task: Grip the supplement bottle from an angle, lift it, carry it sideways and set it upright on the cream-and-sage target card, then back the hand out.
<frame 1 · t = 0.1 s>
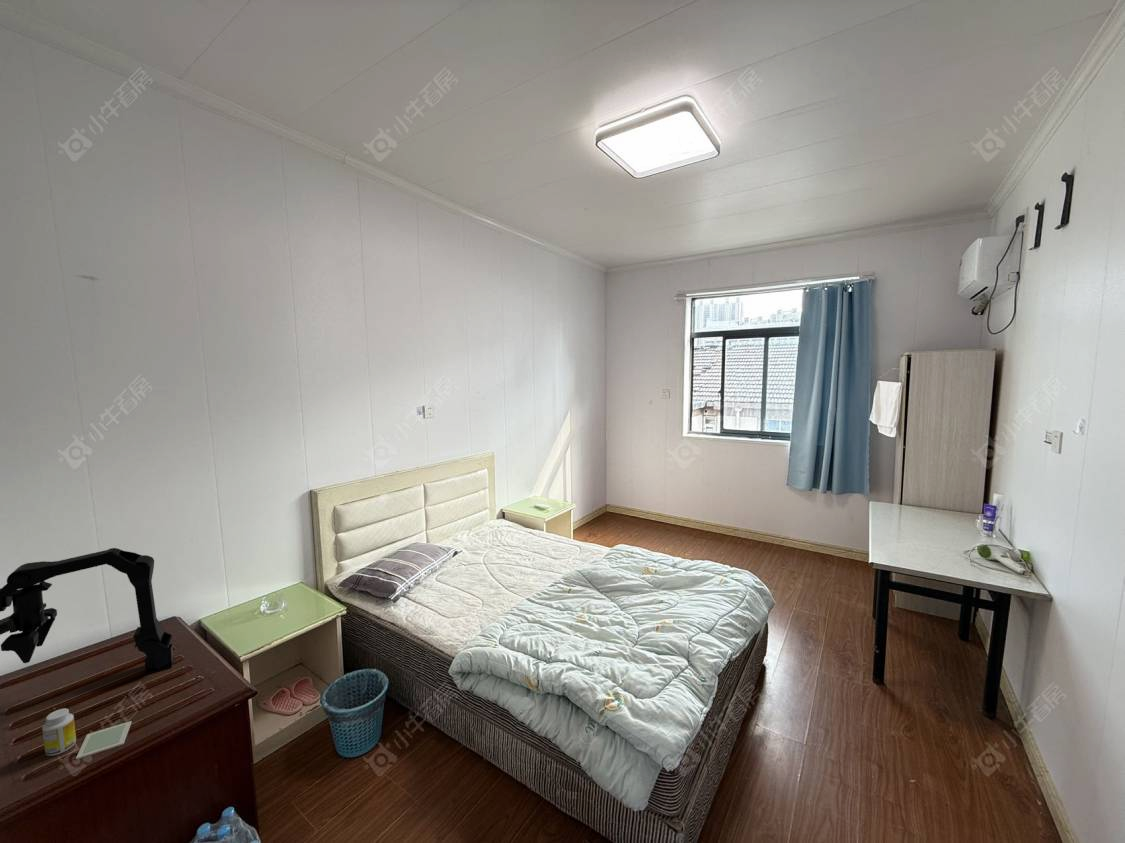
hand: (33, 654, 133), 15 cm above the cabinet, tool pointing down, fingers open, 9 cm apart
supplement bottle: (61, 748, 118), on the cabinet
target card: (105, 739, 121), on the cabinet
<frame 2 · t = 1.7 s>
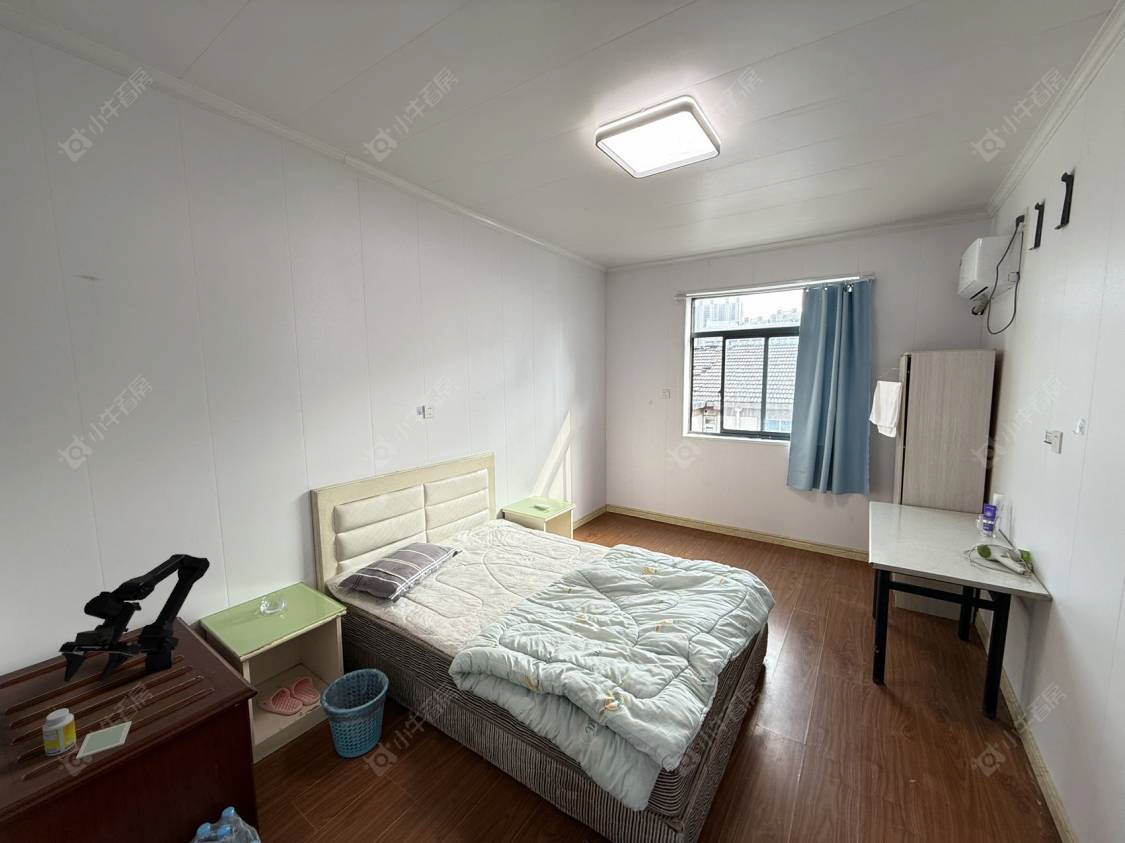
hand: (82, 681, 124), 13 cm above the cabinet, tool tilted 45°, fingers open, 9 cm apart
nothing on the cabinet moved.
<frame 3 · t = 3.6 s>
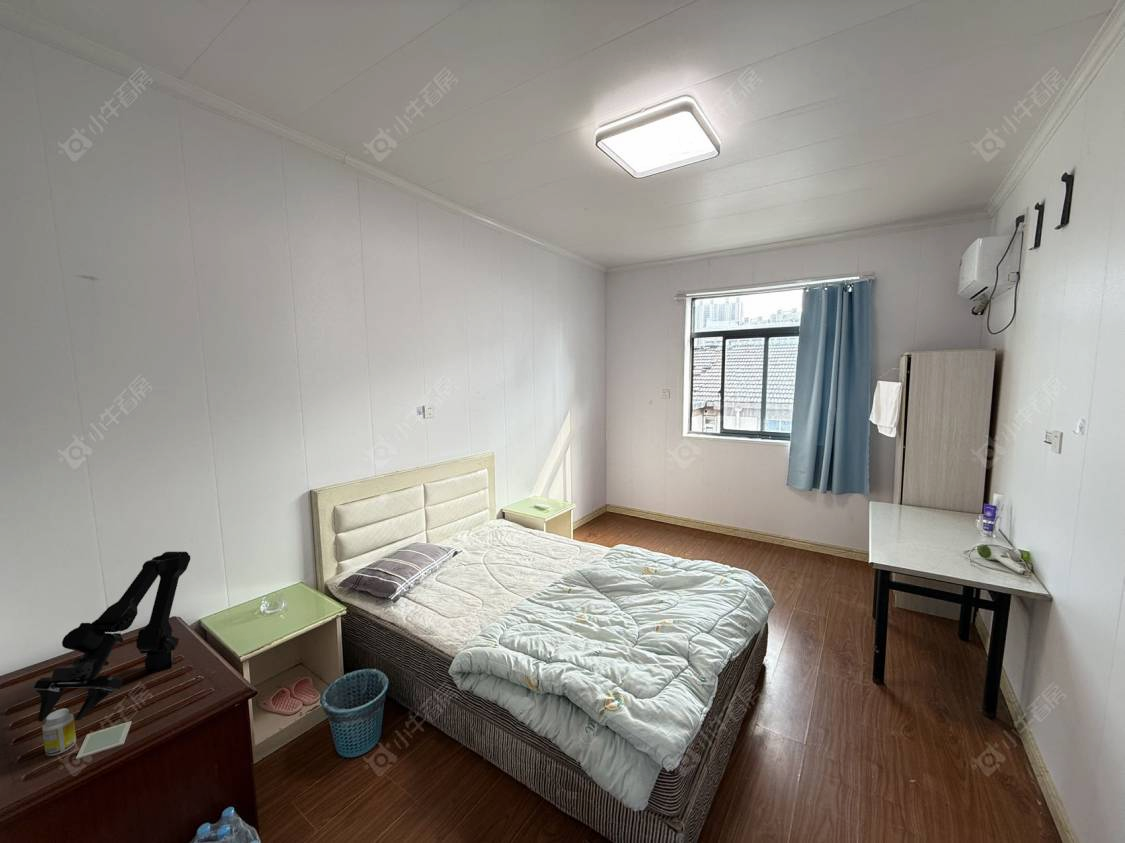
hand: (58, 720, 117), 8 cm above the cabinet, tool tilted 45°, fingers open, 9 cm apart
nothing on the cabinet moved.
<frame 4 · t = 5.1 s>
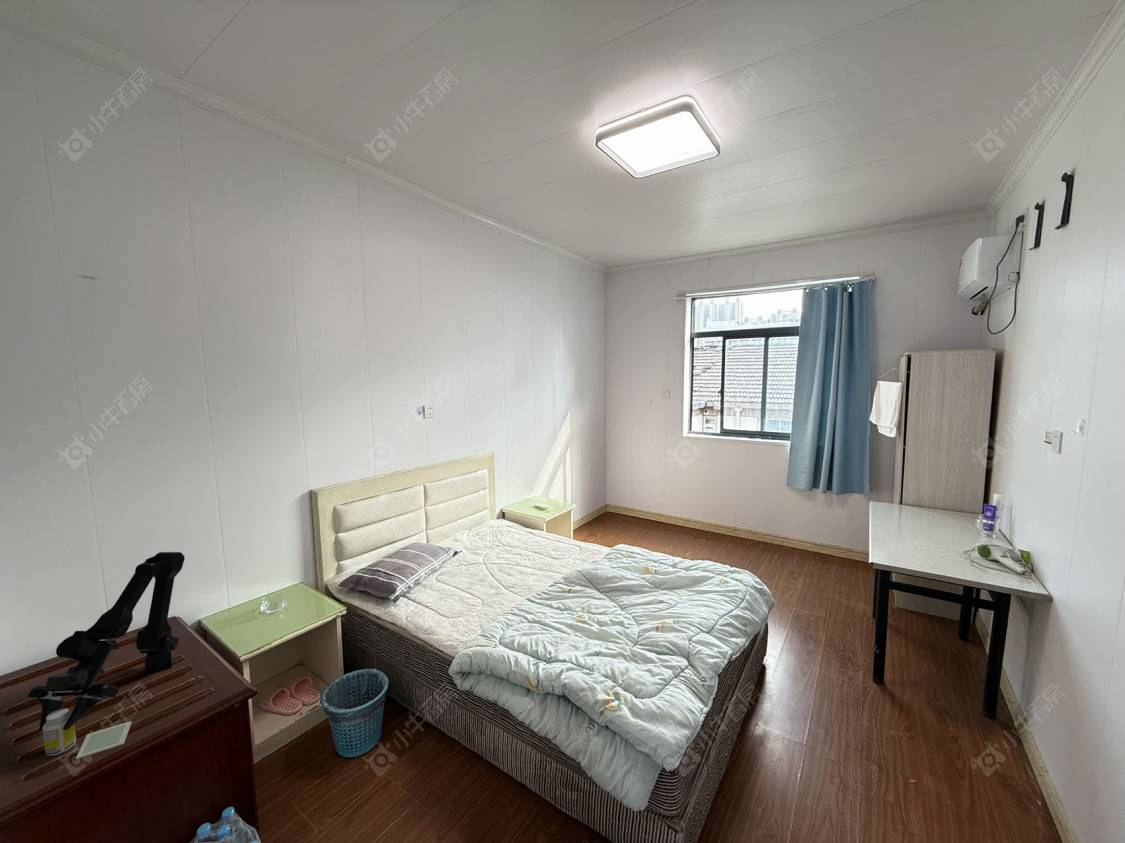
hand: (53, 730, 116), 7 cm above the cabinet, tool tilted 45°, fingers closed on supplement bottle, 6 cm apart
supplement bottle: (61, 748, 118), on the cabinet, touching gripper
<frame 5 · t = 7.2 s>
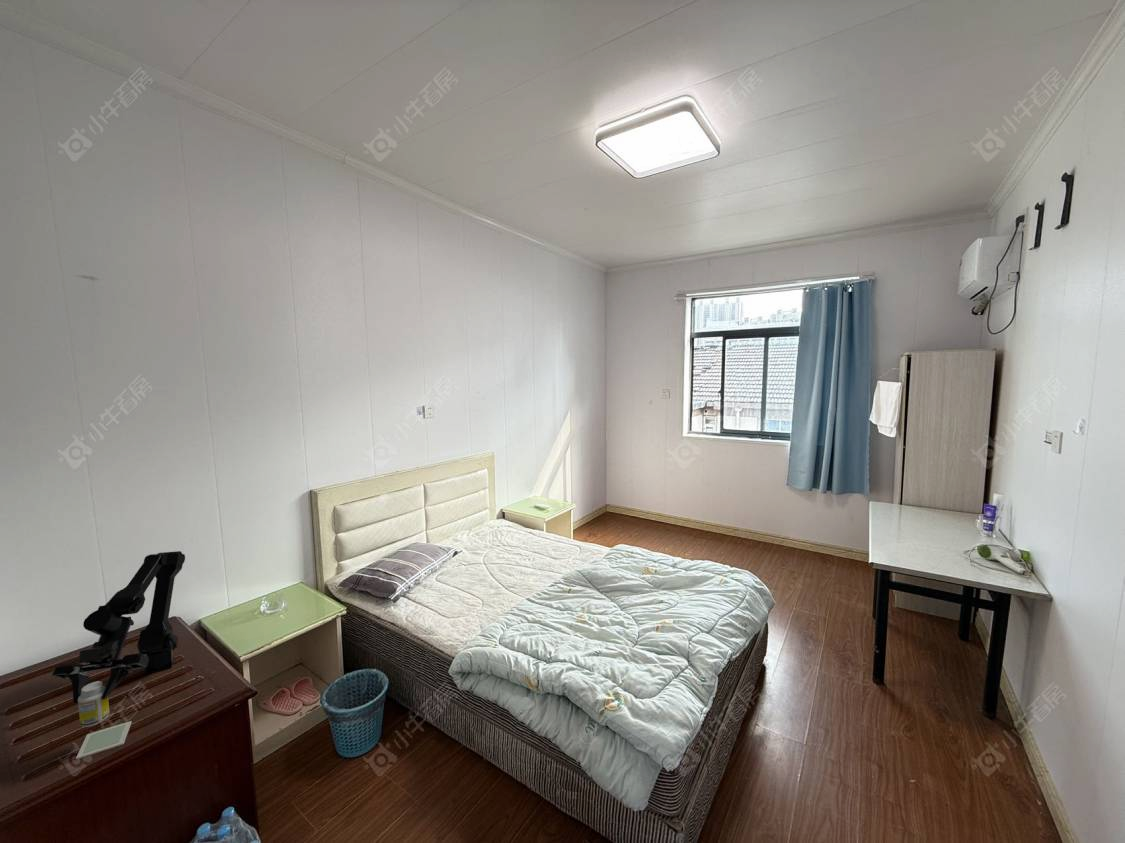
hand: (89, 701, 118), 13 cm above the cabinet, tool tilted 45°, fingers closed on supplement bottle, 5 cm apart
supplement bottle: (95, 720, 120), point 6 cm above the cabinet, touching gripper
when the fingers open (8 cm above the cabinet, at t = 9.4 s): supplement bottle drops 1 cm, resting on target card.
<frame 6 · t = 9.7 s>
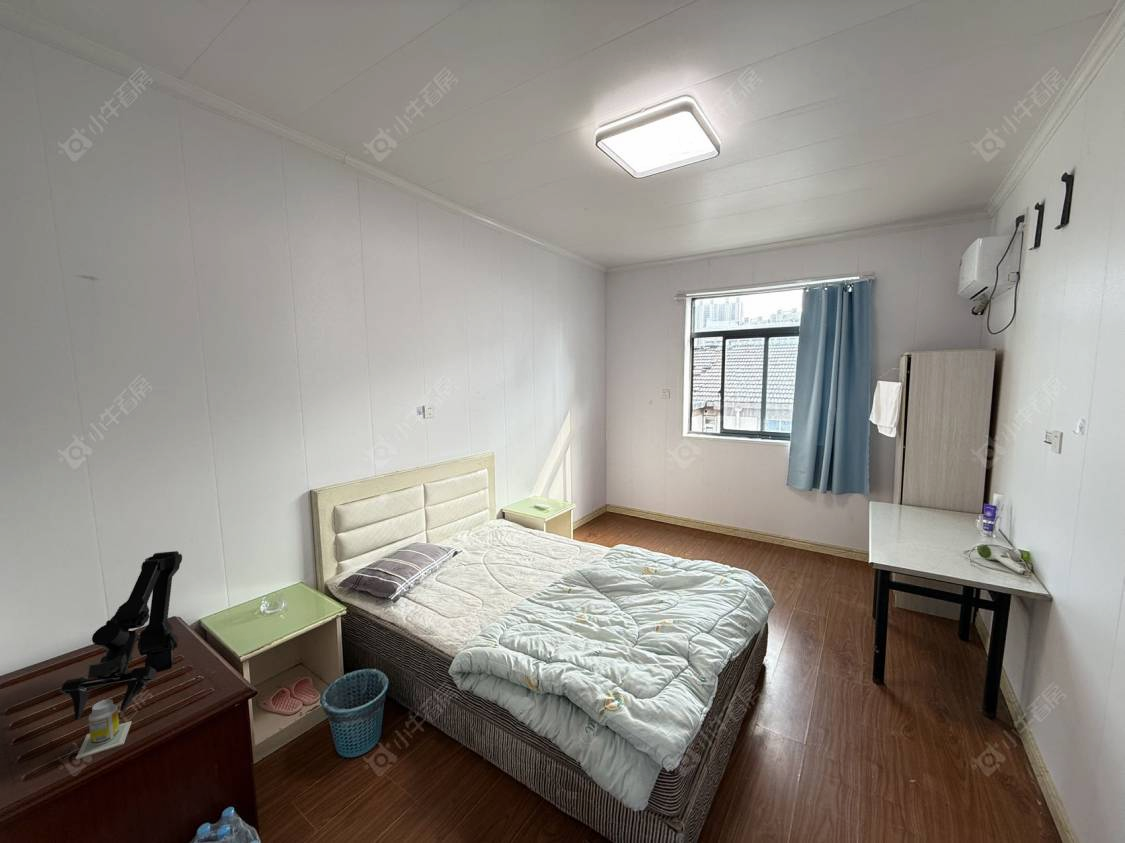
hand: (99, 715, 119), 9 cm above the cabinet, tool tilted 45°, fingers open, 9 cm apart
supplement bottle: (105, 738, 121), resting on target card
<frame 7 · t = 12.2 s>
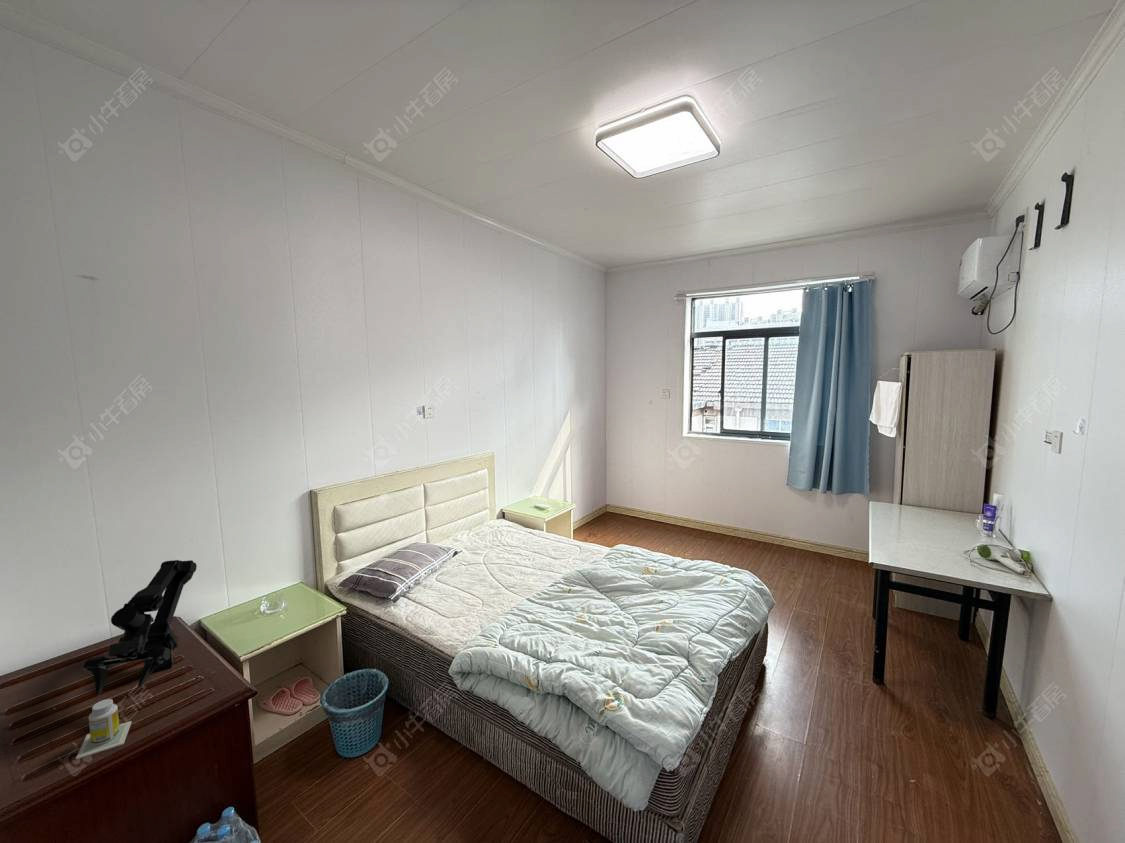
hand: (118, 691, 127), 9 cm above the cabinet, tool tilted 45°, fingers open, 9 cm apart
nothing on the cabinet moved.
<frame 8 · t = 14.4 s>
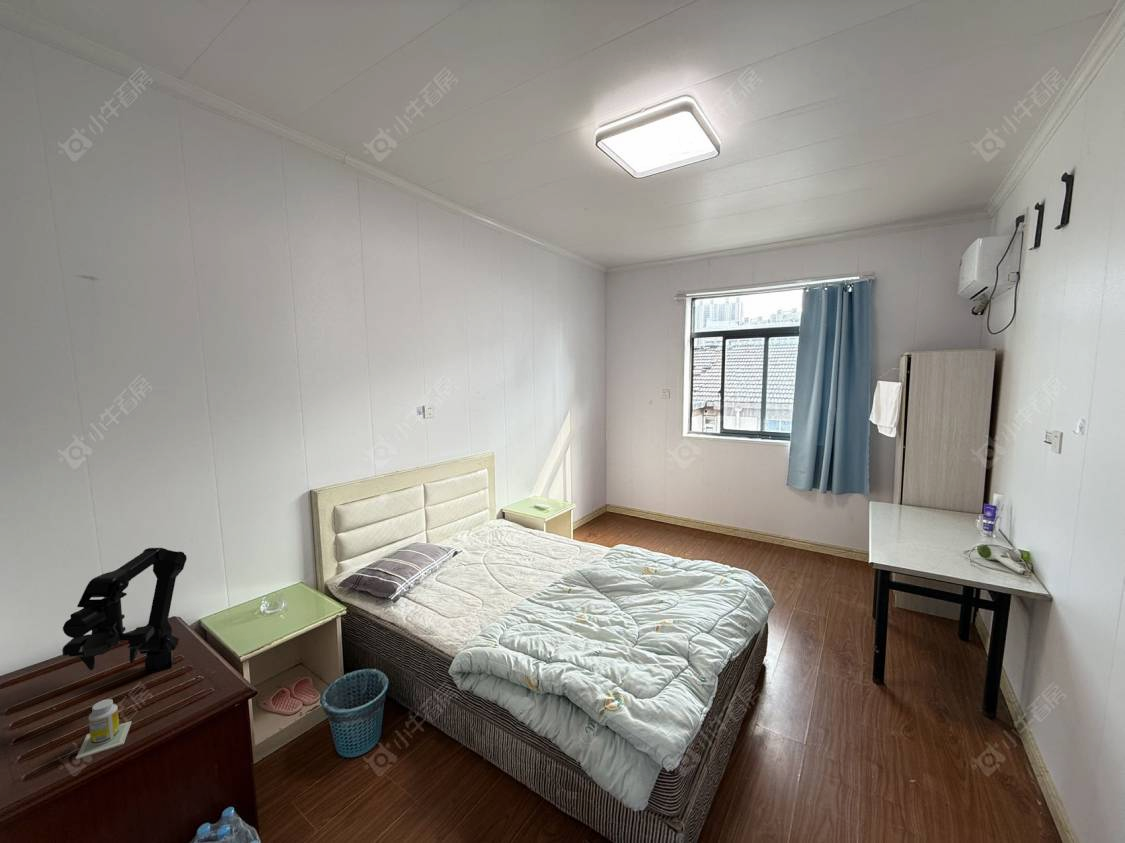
hand: (112, 665, 132), 13 cm above the cabinet, tool pointing down, fingers open, 9 cm apart
nothing on the cabinet moved.
at the end: supplement bottle 0.2 cm off-centre on the target card, point 0.3 cm above the target card's base; supplement bottle tilted 0°; the gripper is holding nothing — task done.
